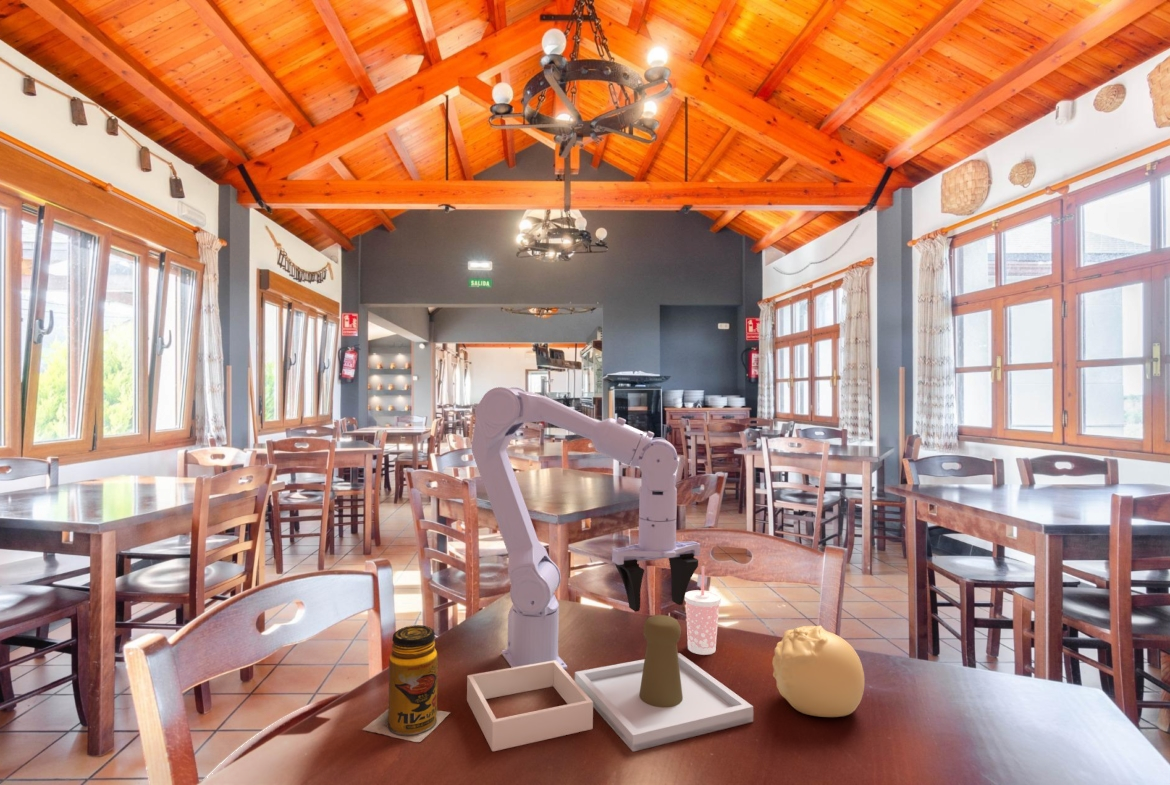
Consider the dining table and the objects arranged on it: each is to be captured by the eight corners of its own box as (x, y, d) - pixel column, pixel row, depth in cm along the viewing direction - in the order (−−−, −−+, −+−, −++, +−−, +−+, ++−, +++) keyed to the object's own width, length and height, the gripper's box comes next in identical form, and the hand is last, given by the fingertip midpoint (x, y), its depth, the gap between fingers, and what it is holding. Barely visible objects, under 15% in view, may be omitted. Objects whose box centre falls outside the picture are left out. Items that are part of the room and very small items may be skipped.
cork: (684, 708, 84) (686, 627, 84) (639, 706, 84) (641, 625, 84) (680, 687, 90) (681, 611, 90) (638, 685, 90) (639, 609, 90)
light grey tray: (574, 685, 91) (574, 672, 91) (679, 665, 99) (679, 652, 99) (632, 751, 75) (633, 735, 75) (753, 721, 82) (753, 706, 82)
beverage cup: (712, 659, 101) (714, 573, 101) (677, 650, 104) (679, 567, 104) (725, 647, 106) (726, 565, 106) (691, 638, 109) (692, 559, 109)
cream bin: (466, 700, 86) (467, 675, 86) (555, 683, 92) (555, 660, 92) (492, 751, 74) (492, 722, 74) (592, 728, 80) (593, 701, 80)
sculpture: (773, 680, 94) (774, 609, 94) (860, 695, 90) (861, 620, 90) (769, 718, 83) (770, 637, 83) (867, 736, 79) (869, 651, 79)
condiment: (420, 743, 76) (421, 645, 76) (361, 731, 78) (363, 636, 78) (450, 714, 83) (452, 624, 83) (395, 703, 85) (397, 616, 85)
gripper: (628, 526, 89) (626, 621, 89) (712, 519, 95) (710, 608, 95) (606, 517, 95) (605, 605, 95) (686, 511, 101) (685, 594, 101)
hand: (656, 606), depth 96 cm, fingers open, 7 cm apart
